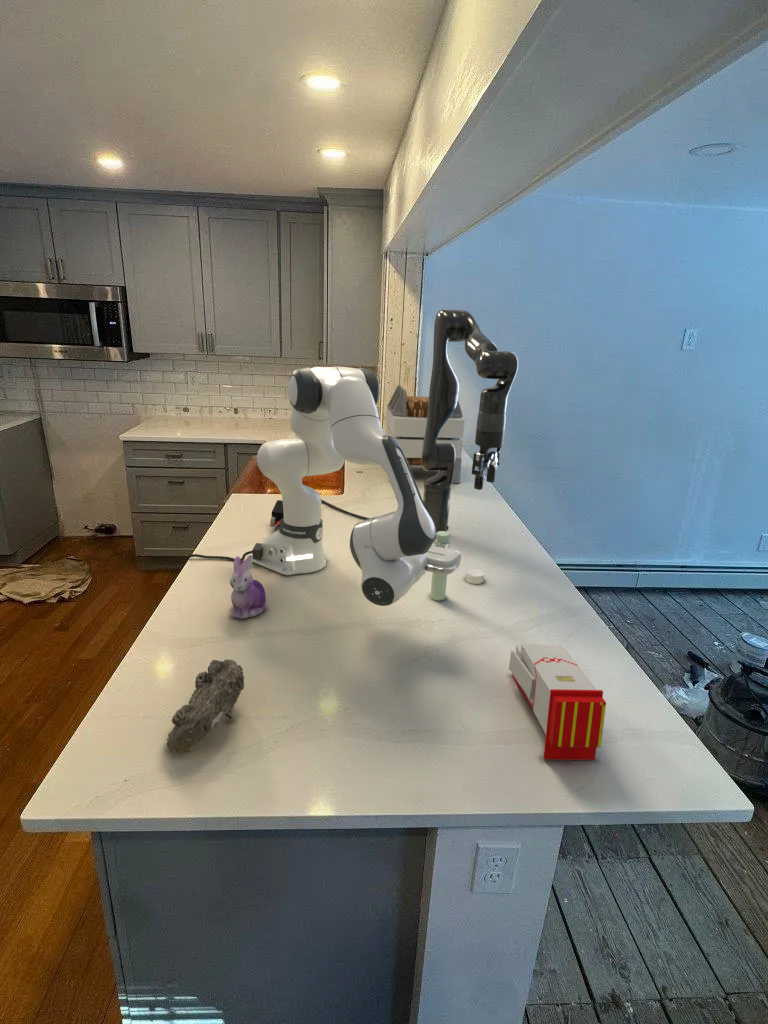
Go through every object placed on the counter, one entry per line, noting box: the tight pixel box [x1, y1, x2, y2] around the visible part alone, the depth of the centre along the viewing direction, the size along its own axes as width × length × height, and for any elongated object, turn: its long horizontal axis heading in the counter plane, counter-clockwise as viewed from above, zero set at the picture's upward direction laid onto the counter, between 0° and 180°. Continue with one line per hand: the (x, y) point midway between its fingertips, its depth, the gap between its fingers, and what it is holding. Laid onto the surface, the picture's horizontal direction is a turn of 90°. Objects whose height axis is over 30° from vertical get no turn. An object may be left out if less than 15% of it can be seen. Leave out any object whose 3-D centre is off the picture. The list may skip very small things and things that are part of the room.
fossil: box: [166, 658, 245, 754], centre depth 106 cm, size 22×10×15 cm
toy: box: [508, 643, 607, 761], centre depth 112 cm, size 12×13×30 cm
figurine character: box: [269, 499, 284, 532], centre depth 201 cm, size 7×8×15 cm
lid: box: [465, 568, 485, 585], centre depth 168 cm, size 5×5×2 cm
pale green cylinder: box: [430, 531, 451, 601], centre depth 154 cm, size 4×4×19 cm
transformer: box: [385, 384, 465, 484], centre depth 268 cm, size 34×33×41 cm
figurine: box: [229, 554, 267, 619], centre depth 143 cm, size 9×10×15 cm
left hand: (428, 542), depth 140 cm, fingers open, 8 cm apart
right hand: (484, 485), depth 158 cm, fingers open, 8 cm apart
